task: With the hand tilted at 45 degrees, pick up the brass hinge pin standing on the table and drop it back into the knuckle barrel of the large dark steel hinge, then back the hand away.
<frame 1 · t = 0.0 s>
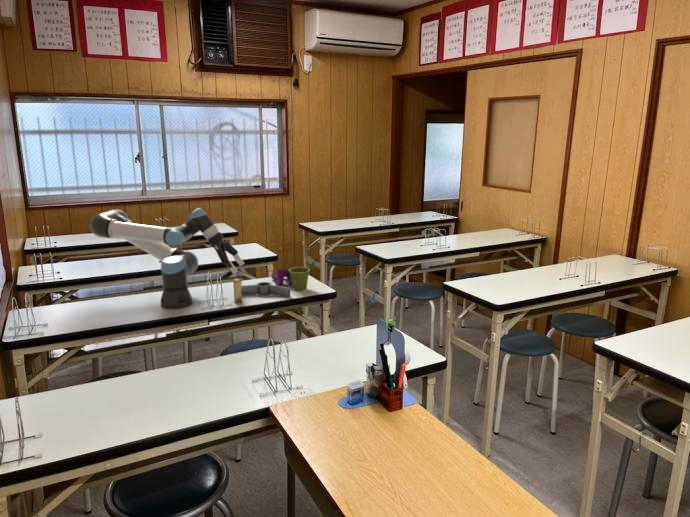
hand: (239, 268, 258), 15 cm above the table, tool tilted 35°, fingers open, 13 cm apart
purple irregular piece: (282, 283, 287), on the table
hinge pin: (238, 302, 254), on the table
steel hinge: (264, 293, 268), on the table
plant pot: (299, 289, 274), on the table
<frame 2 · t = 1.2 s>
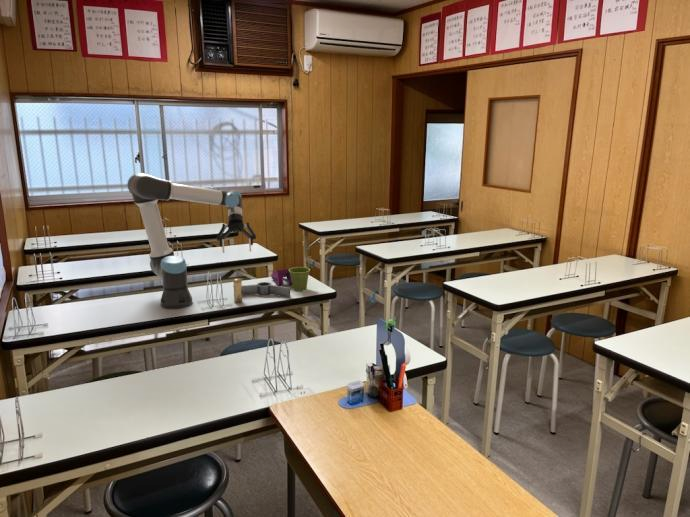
hand: (236, 250, 258), 24 cm above the table, tool tilted 45°, fingers open, 13 cm apart
nothing on the table moved.
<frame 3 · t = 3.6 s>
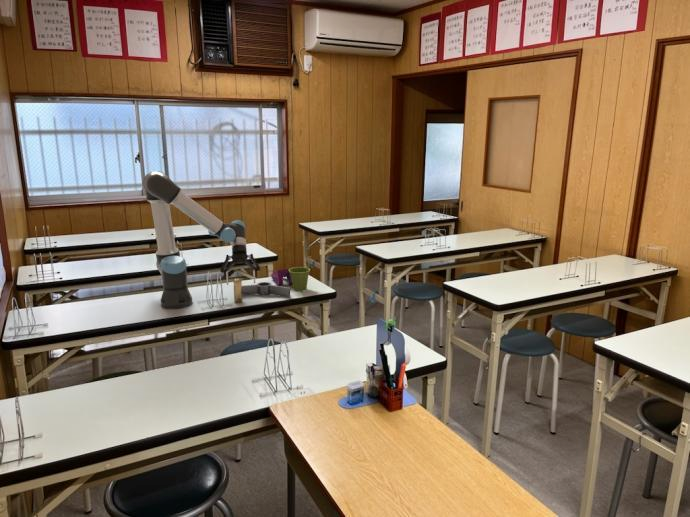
hand: (241, 283, 256), 9 cm above the table, tool tilted 45°, fingers open, 13 cm apart
nothing on the table moved.
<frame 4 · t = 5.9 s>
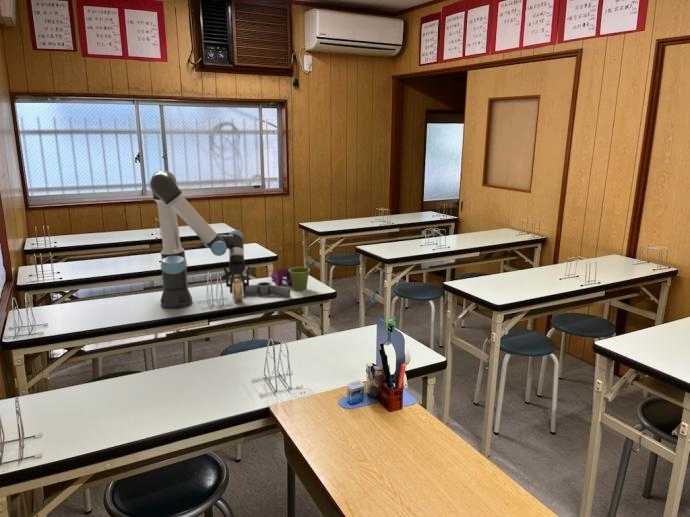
hand: (238, 298, 249), 3 cm above the table, tool tilted 45°, fingers closed on hinge pin, 4 cm apart
hinge pin: (238, 302, 254), on the table, touching gripper
everything else where it was.
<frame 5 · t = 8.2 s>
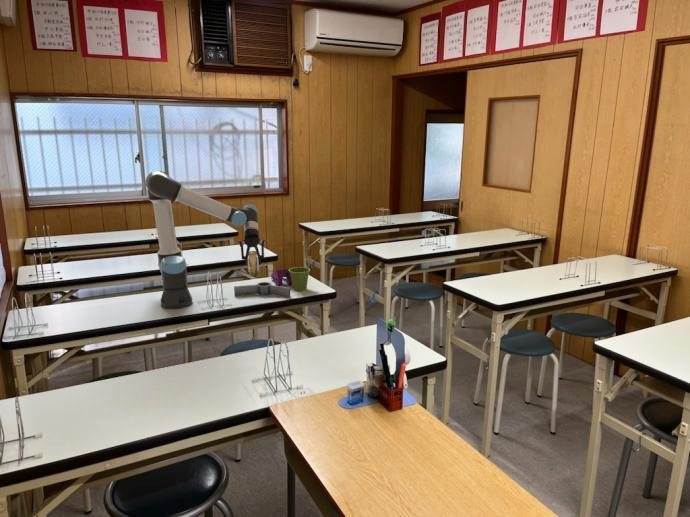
hand: (253, 270, 253), 16 cm above the table, tool tilted 45°, fingers closed on hinge pin, 4 cm apart
hinge pin: (253, 274, 258), point 12 cm above the table, touching gripper
everything else where it was.
when the fingers open (7 cm above the table, at t = 10.7 s): hinge pin drops 3 cm, resting in steel hinge.
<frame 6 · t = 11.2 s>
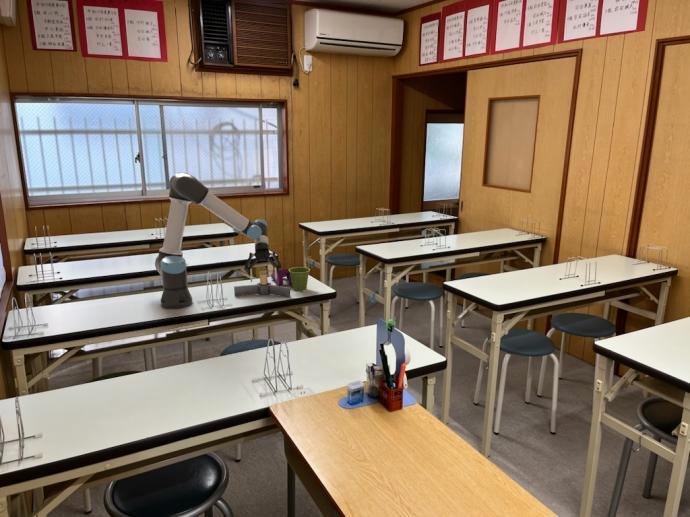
hand: (263, 280, 263), 8 cm above the table, tool tilted 45°, fingers open, 12 cm apart
hinge pin: (264, 293, 268), resting in steel hinge
everything else where it was.
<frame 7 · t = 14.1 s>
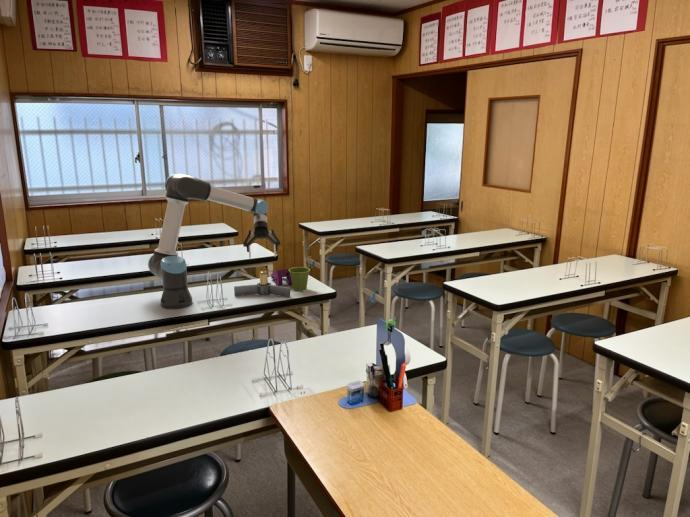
hand: (262, 256, 272), 18 cm above the table, tool tilted 45°, fingers open, 13 cm apart
nothing on the table moved.
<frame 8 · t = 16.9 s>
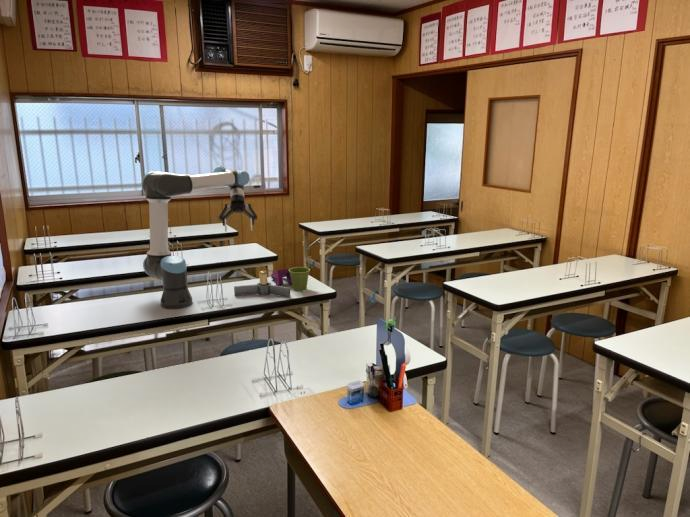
hand: (238, 229, 268), 33 cm above the table, tool tilted 45°, fingers open, 13 cm apart
nothing on the table moved.
at the end: hinge pin 0.1 cm from the steel hinge (horizontally); hinge pin resting in steel hinge; hinge pin tilted 1° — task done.
